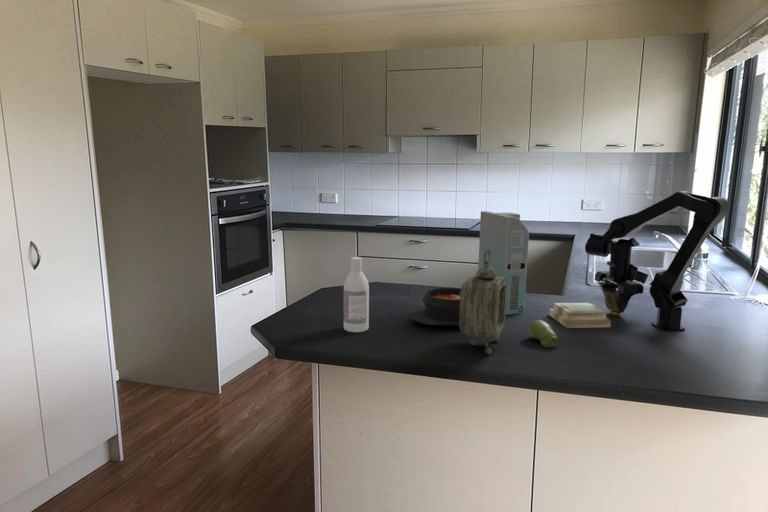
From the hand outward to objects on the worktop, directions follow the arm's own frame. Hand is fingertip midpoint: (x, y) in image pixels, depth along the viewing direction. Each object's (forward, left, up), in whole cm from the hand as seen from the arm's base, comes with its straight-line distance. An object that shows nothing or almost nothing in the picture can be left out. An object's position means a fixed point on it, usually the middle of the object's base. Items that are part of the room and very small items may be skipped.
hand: (615, 309), depth 174 cm
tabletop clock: (-25, +49, -2) cm, 55 cm away
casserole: (-3, +52, -2) cm, 52 cm away
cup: (0, 0, -2) cm, 2 cm away
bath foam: (-9, +80, -2) cm, 81 cm away
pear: (-23, +32, -2) cm, 39 cm away
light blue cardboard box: (+11, +33, -2) cm, 35 cm away
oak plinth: (-5, +14, -2) cm, 15 cm away
